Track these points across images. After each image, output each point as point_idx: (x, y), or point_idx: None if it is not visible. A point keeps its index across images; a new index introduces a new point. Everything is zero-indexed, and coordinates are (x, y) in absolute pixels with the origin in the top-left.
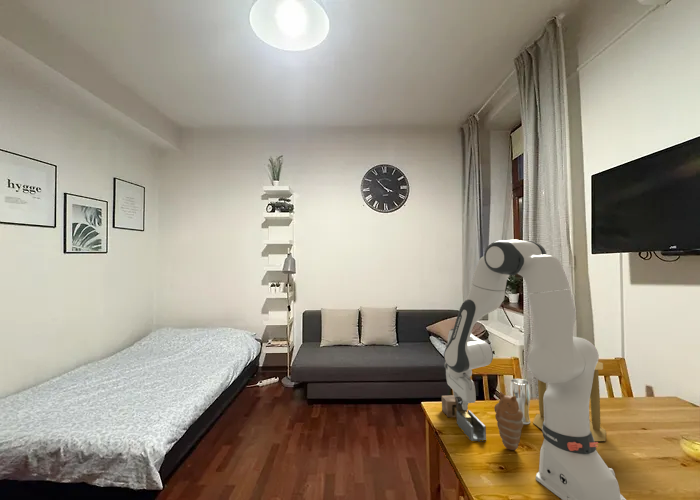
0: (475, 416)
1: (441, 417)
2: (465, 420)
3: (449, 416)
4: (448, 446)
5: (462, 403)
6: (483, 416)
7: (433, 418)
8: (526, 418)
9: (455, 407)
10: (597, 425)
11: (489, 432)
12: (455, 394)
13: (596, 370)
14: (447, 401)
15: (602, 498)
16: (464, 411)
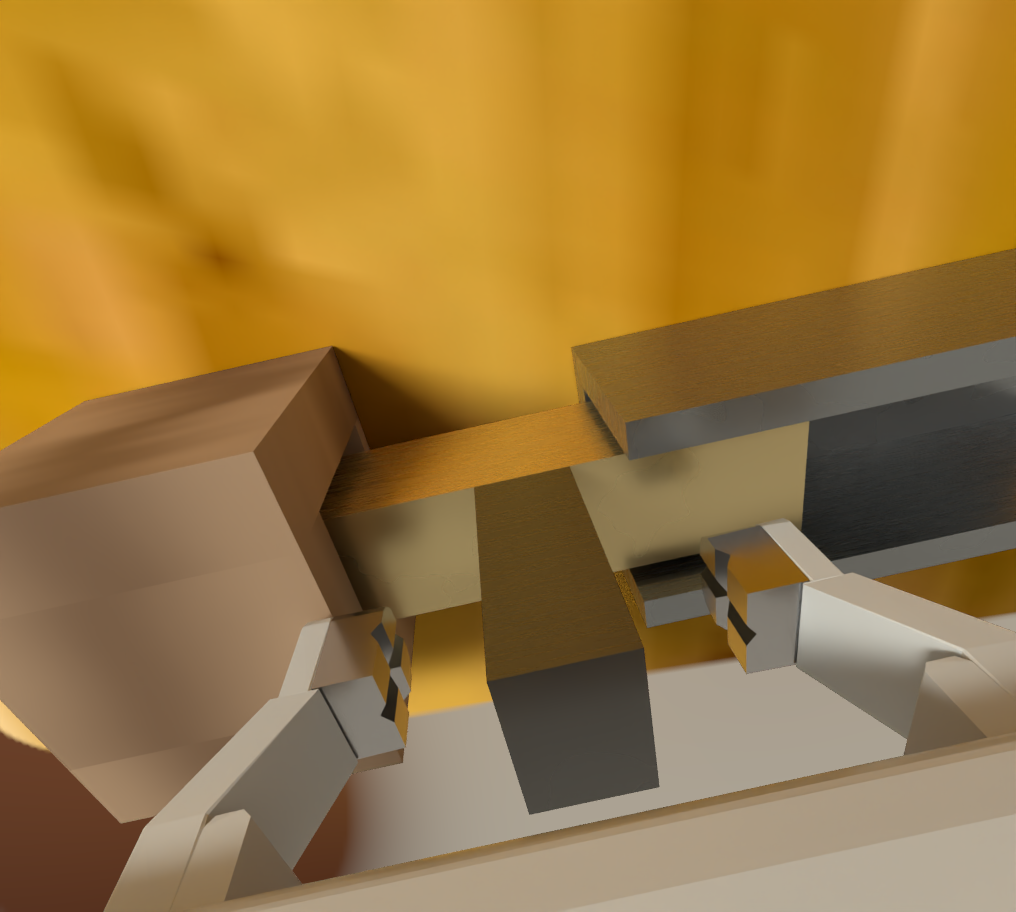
0: (915, 366)
1: (430, 637)
2: (1001, 548)
3: None
4: (1002, 612)
5: (842, 693)
6: (256, 27)
7: (467, 698)
8: None
9: (421, 600)
10: None
11: (859, 109)
12: (308, 802)
13: None
14: (377, 760)
15: None
16: (580, 490)
